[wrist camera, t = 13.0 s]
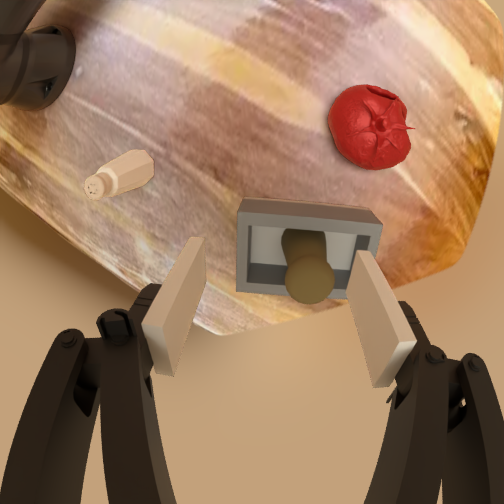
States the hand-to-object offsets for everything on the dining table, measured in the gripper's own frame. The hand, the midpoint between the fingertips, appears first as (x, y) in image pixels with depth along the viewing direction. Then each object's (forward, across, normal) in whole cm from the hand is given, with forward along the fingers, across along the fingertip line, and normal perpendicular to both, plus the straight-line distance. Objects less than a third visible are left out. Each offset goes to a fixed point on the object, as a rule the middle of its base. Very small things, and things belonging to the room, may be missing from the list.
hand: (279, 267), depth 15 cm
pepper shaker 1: (+23, -19, 0) cm, 29 cm away
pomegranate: (+22, +10, +8) cm, 26 cm away
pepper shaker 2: (+21, +4, -9) cm, 23 cm away
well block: (+22, +4, -9) cm, 24 cm away
